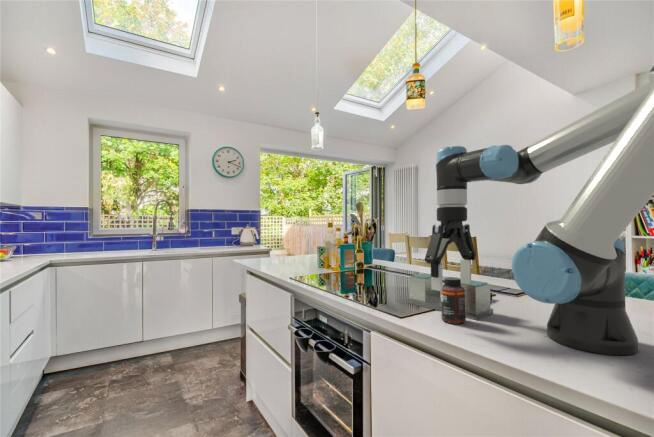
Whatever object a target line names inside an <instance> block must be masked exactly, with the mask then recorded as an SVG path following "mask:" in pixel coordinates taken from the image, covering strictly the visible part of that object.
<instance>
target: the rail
mask: <svg viewBox="0 0 654 437" xmlns="http://www.w3.org/2000/svg"><path fill="white" fill-rule="evenodd" d="M408 284H409V285H408V288H409V291H408V292H409V294H408V298H406V300H407V302H406V303H407V304H409V305H414V306H416V307H417V306H418V307H422V308H426V309H429V308H430V309H429V310H433V309H435V310H434V311H438V312H441V291H437V290H432V289H431V273H419V274H413V275H411V276H409V277H408ZM460 285H461V286H462V287H463V288H464V290H465V316H466V318H465V319H470V320H474V321H478V320H481V319H484V318H487V317H489V316H492V315H494V309H493V308H491V300H490V293H491V283H488V282H486V281H481V280H479V281H478V280H472V279H471V284H466V283H461V284H460Z"/></svg>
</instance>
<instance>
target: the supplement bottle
mask: <svg viewBox="0 0 654 437" xmlns="http://www.w3.org/2000/svg"><path fill="white" fill-rule="evenodd" d="M443 281H444V282H443V283H444V284H443V291H440V298H441V311H440V312H441V315H440V316H441V320H442V321H443V322H445V323H447V324H451V325H455V324H456V325H460V324H464V323H465V322H466V319H467V318H466V316H465V290H464V288H463V287H462V286H461V285H460V284H461V280H460V277H455V276H448V277H447V276H446V277H444V278H443Z"/></svg>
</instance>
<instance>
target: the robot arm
mask: <svg viewBox="0 0 654 437" xmlns="http://www.w3.org/2000/svg"><path fill="white" fill-rule="evenodd" d="M647 79H648V81H649V82H646V83H645V84H643V85H641V86H639V87H637V88H636V89H633V90H631V91H629V92H628V93H626V94H624V95H622V96H620V97H618V98H616V99H615V100H612V101H611V102H609V103H607V104H605V105H603V106H601V107H599V108H598V109H596V110H593V111H592V112H590V113H588V114H586V115H584V116H583V117H581V118H579V119H577V120H575V121H573V122H571V123H569V124H567V125H566V126H564V127H561V128H560V129H558V130H556V131H554V132H552V133H550V134H548V135H546V136H545V137H542V138H541V139H539V140H537V141H536V142H534V143H532V144H529V145H528V146H526V147H524V148H522V149H520V150H518V151H516V150H515V149H514V148H513V146H511V145H509V144H502V145H491V146H489V147H485V148H482V149H477V150H472V151H467V148H466V147H465V146H462V145H461V146H460V145H454V146H453V145H451V146H445V147H441V148H440V149H439V150H438V151H437V153H436V164H435V172H436V205H437V206H439V207H437V208H436V221H437V222H440V224H433V225H432V232H431V236H430V240H429V243H428V246H427V249H426V254H425V256H424V257H425V258H424V261H425V262H426V264H429V265H430V274H431V289H432V290H437V291H440V292H441V291H443V285H444V284H443V264H441V262H442V260H443V258H444V256H445V253H446V252H447V249H448V247H449V245H450V244H452V243H454V244H455V246H456V248H457V250H458V252H459V254H460V256H461V259H460V262H459V264H460V265H459V266H460V271H459V273H460V274H459V275H460V277H459V278H460V280H461V283H466V284H471V280H472V261H475V260H476V256H477V252H476V250H475V246H474V243H473V242H474V241H473V238H472V235H471V229H470V228H471V226H470V224H467V223H466V224H464V223H463V222H466V221H467V220H468V207H466V205H468V183H472V182H473V183H474V182H482V181H483V182H484V181H490V182H501V183H510V184H516V185H525V184H528V185H529V184H531V183H534V182H536V181H538V179H539V178H540V176H542V174H543V173H547V172H549V171H551V170H553V169H555V168H557V167H560V166H562V165H565V164H567V163H569V162H571V161H573V160H575V159H579V158H580V157H582V156H585V155H587V154H589V153H592V152H594V151H596V150H598V149H601V148H604V147H606V146H608V145H610V144H612V145H611V147H609V150H608V151H607V153H606V154H605V155H604V157H603V158H602V159H601V161H600V163H599V164H598V165H597V166H596V168H595V169H594V171H593V173H592V174H591V175H590V177H589V178H588V180H587V181H586V182H585V184H584V186H583V187H582V188H581V190H580V191H579V192H578V194H577V195H576V196H575V198H574V200H573V201H572V202H571V204H570V206H569V207H568V208H567V209H566V211H565V212H564V214H563V215H562V217H561V218H560V219H557V220H553V221H548V222H547V223H546V224H545V225H544V226H543V228H542V229H541V231H540V233H539V234H538V235H537V237H536V238H535V240H534V241H530V242H527V243H525V244H524V245H522V246H520V247H519V248H518V249H517V250H516V251H515V253H514V255H513V257H512V260H511V272H512V274H513V277H514V278H513V279H514V281H515V283H516V286H518V287H519V289H520V290H521V291H522V292H523V293H524V294H525V295H527V296H528V297H529V298H532V299H533V300H535V301H538V302H540V303H544V304H552V305H553V304H554V305H553V308H552V310H551V313H550V316H549V318H548V321H547V325H546V335H547V337H548V338H550V339H551V340H553V341H555V342H556V343H559V344H561V345H564V346H566V347H570V348H573V349H576V350H580V351H585V352H590V353H595V354H602V355H608V356H609V355H611V356H612V355H613V356H631V355H634V354H637V353H639V337H637V336H638V335H637V334H636V331H635V329H634V327H633V324H632V323H631V320H630V317H629V315H628V313H627V309H626V272H625V270H626V264H625V263H626V259H625V257H626V255H627V254H626V250H625V245H624V241H623V240H622V239H621V238H620V236H621V235H622V234H623V233H624V231H625V230H626V229H627V228H628V227H629V225H630V224H631V223H632V222H633V220H634V219H635V218H636V217H637V216H638V214H639V213H640V212H641V211H642V209H643V208H644V207H645V206H646V205H647V204H648V202H649V201H650V200H651V199H652V197H653V196H654V65H653V66H652V68H651V69H650V71H649V72H648V74H647Z"/></svg>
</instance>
